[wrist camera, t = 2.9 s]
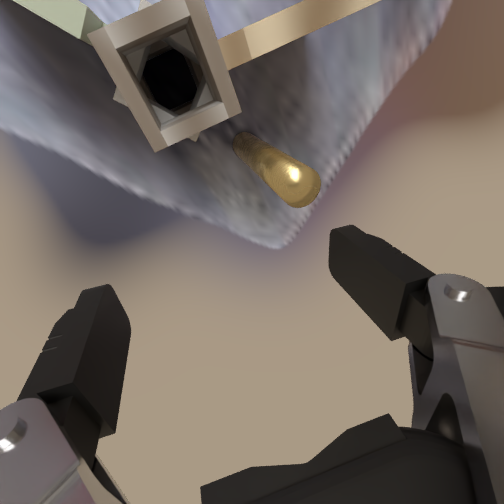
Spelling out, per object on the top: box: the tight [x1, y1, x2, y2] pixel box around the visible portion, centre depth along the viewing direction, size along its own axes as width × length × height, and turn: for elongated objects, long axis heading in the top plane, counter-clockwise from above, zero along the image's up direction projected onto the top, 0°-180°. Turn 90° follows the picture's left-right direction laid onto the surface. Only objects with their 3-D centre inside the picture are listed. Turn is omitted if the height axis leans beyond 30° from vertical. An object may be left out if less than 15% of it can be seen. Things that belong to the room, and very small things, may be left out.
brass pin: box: [233, 132, 321, 208], centre depth 26 cm, size 3×3×17 cm
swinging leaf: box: [13, 0, 213, 142], centre depth 19 cm, size 18×7×13 cm, turn 61°
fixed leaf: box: [87, 0, 380, 152], centre depth 22 cm, size 19×7×14 cm, turn 111°
